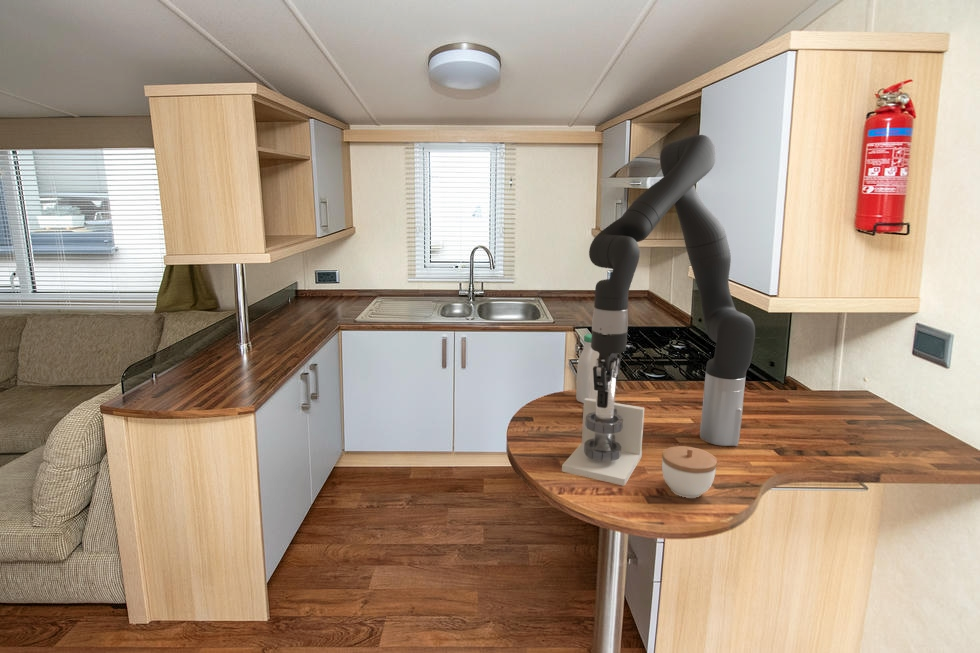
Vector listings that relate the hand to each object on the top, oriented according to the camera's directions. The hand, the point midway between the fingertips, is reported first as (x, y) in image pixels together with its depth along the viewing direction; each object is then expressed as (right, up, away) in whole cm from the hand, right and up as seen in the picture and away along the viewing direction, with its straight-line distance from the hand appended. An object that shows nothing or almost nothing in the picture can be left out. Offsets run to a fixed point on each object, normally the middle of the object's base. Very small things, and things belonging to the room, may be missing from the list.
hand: (605, 403), depth 130 cm
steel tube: (0, -12, +3) cm, 12 cm away
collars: (+1, -11, +4) cm, 12 cm away
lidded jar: (+15, -17, -8) cm, 24 cm away
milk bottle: (+4, -5, +46) cm, 46 cm away
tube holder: (0, -15, +3) cm, 15 cm away
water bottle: (+5, -8, +32) cm, 34 cm away
